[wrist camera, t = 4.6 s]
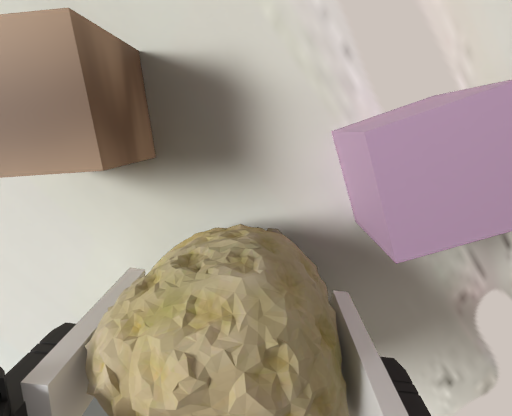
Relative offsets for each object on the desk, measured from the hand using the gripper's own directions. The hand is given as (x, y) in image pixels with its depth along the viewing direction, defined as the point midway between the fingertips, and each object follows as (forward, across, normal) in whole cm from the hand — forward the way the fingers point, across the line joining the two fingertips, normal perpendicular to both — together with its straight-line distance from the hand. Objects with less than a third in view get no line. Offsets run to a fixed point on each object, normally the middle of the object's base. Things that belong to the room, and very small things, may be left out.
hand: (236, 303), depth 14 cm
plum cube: (+2, +7, +8) cm, 11 cm away
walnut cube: (+2, -8, +9) cm, 12 cm away
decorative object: (+1, 0, 0) cm, 1 cm away
